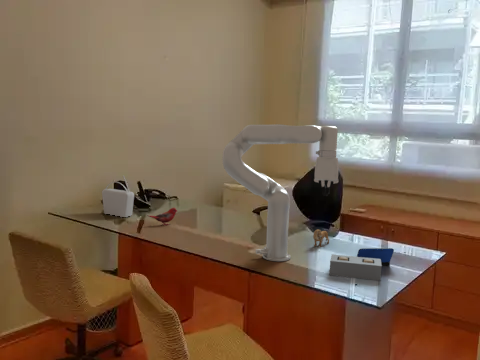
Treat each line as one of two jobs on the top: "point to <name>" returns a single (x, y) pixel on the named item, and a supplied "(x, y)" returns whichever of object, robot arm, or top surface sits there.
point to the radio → (118, 201)
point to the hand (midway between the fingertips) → (325, 195)
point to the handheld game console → (377, 254)
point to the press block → (355, 267)
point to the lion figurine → (320, 237)
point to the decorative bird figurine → (165, 216)
